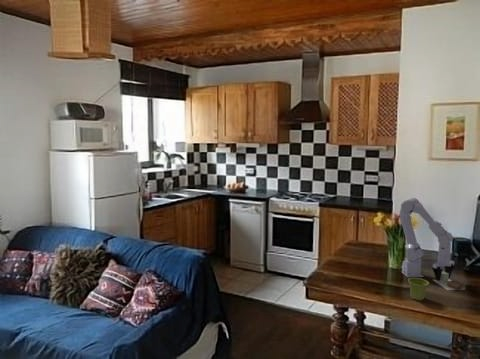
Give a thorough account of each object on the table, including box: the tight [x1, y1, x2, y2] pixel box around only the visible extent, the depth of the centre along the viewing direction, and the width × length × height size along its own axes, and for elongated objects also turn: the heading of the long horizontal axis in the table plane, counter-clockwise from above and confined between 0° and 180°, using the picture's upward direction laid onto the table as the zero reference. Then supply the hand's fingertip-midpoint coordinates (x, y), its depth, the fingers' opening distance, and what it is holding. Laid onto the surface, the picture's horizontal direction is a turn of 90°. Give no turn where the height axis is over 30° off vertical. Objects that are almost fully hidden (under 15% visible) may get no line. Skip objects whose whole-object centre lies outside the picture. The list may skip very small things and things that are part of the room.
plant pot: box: [407, 277, 430, 301], centre depth 197 cm, size 9×9×9 cm
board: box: [432, 278, 466, 291], centre depth 213 cm, size 10×14×1 cm
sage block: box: [437, 270, 450, 283], centre depth 217 cm, size 4×4×5 cm
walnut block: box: [447, 279, 466, 291], centre depth 210 cm, size 6×6×2 cm
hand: (442, 279), depth 217 cm, fingers open, 7 cm apart
